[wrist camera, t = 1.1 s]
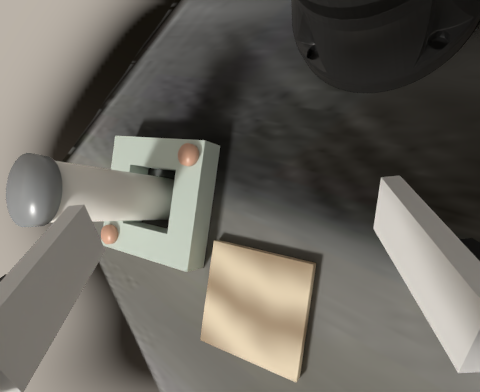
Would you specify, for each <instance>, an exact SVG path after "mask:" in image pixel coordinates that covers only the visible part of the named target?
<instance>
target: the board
mask: <svg viewBox="0 0 480 392" xmlns="http://www.w3.org/2000/svg"><path fill="white" fill-rule="evenodd" d="M315 269H316V263H314V262H310V261H305V260H301V259H297V258H293V257H289V256H284V255H280V254H276V253H272V252H268V251H263V250H259V249H255V248H251V247H246V246H242V245H238V244H234V243H230V242H225V241H221V240H215V241H214V243H213V251H212V258H211V265H210V272H209V280H208V287H207V294H206V301H205V309H204V316H203V323H202V330H201V338H200V340H201V341H204V342H206V343H208V344H210V345H213V346H215V347H217V348H219V349H222V350H224V351H226V352H228V353H231V354H233V355H235V356H237V357H240V358H242V359H244V360H247V361H249V362H251V363H253V364H256V365H258V366H260V367H262V368H265V369H267V370H269V371H271V372H274V373H276V374H278V375H280V376H283V377H285V378H287V379H289V380H292V381H294V382H296V383H297V381H298V380H299V378H300V373H301V366H302V359H303V352H304V345H305V338H306V331H307V324H308V317H309V310H310V303H311V296H312V289H313V283H314V276H315Z"/></svg>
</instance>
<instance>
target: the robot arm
mask: <svg viewBox="0 0 480 392" xmlns="http://www.w3.org/2000/svg"><path fill="white" fill-rule="evenodd" d="M291 3H292V27H293V33H294V38H295V41H296V44H297V47H298V49H299V51H300V53H301V55H302V56H303V58H304V60H305V61H306V63H307V64H308V66H309V67H310V69H311V70H312V71H313V72H314V73H315V74H316V75H317V76H318V77H319V78H320V79H322V80H323V81H324V82H326V83H328V84H329V85H331V86H333V87H336V88H338V89H342V90H345V91H350V92H357V93H376V92H383V91H388V90H392V89H396V88H399V87H402V86H405V85H408V84H410V83H413V82H415V81H417V80H419V79H421V78H423V77H425V76H426V75H428V74H430V73H431V72H433V71H434V70H436V69H437V68H439V67H440V66H441V65H443V64H444V63H445V62H446V61H448V60H449V59H450V58H451V57H452V56H453V55H454V54H455V53H456V52H457V51H458V50H459V49H460V48H461V47H462V46H463V44H464V43H465V42H466V41H467V39H468V38H469V37H470V35H471V34H472V32H473V31H474V29H475V28H476V26H477V24H478V22H479V21H480V0H291ZM374 230H375V232H376V234H377V236H378V237H379V239H380V241H381V242H382V244H383V246H384V247H385V249H386V251H387V253H388V254H389V256H390V258H391V259H392V261H393V263H394V264H395V266H396V268H397V270H398V271H399V273H400V275H401V276H402V278H403V280H404V281H405V283H406V285H407V287H408V288H409V290H410V292H411V293H412V295H413V297H414V298H415V300H416V302H417V304H418V305H419V307H420V309H421V310H422V312H423V314H424V315H425V317H426V319H427V321H428V322H429V324H430V326H431V327H432V329H433V331H434V332H435V334H436V336H437V338H438V339H439V341H440V343H441V344H442V346H443V348H444V349H445V351H446V353H447V355H448V356H449V358H450V360H451V361H452V363H453V365H454V366H455V368H456V370H457V372H458V373H470V372H480V243H479V242H478V241H476V240H474V239H473V238H468V239H459V238H458V237H457V236H456V235H455V234H454V233H453V232H452V231H451V230H450V229H449V228H448V227H447V226H446V225H445V223H444V222H443V221H442V220H441V219H440V218H439V217H438V216H437V215H436V214H435V213H434V212H433V211H432V210H431V209H430V207H429V206H428V205H427V204H426V203H425V202H424V201H423V200H422V199H421V198H420V197H419V196H418V195H417V194H416V192H415V191H414V190H413V189H412V188H411V187H410V186H409V185H408V184H407V183H406V182H405V181H404V180H403V179H402V177H401V176H390V177H381V181H380V188H379V195H378V202H377V208H376V215H375V222H374ZM104 252H105V248H104V246H103V244H102V242H101V240H100V237H99V235H98V233H97V231H96V229H95V226H94V224H93V222H92V220H91V218H90V216H89V213H88V211H87V209H86V207H85V205H73V206H68V207H67V208H66V209H65V210H64V211H63V212H62V214H61V215H60V216H59V217H58V218H57V219H56V220H55V221H54V222H53V224H52V225H51V226H50V227H49V228H48V229H47V230H46V232H45V233H44V234H43V235H42V236H41V237H40V238H39V239H38V240H37V241H36V243H35V244H34V245H33V246H32V247H31V248H30V249H29V251H27V253H26V254H25V255H24V256H23V257H22V258H21V259H20V260H19V262H18V263H17V264H16V265H15V266H14V267H13V268H12V269H11V270H10V272H9V273H8V274H6V275H4V276H3V277H1V278H0V392H24V390H25V388H26V386H27V385H28V383H29V381H30V380H31V378H32V376H33V374H34V373H35V371H36V369H37V368H38V366H39V364H40V362H41V361H42V359H43V357H44V355H45V354H46V352H47V350H48V348H49V347H50V345H51V343H52V342H53V340H54V338H55V336H56V335H57V333H58V331H59V329H60V328H61V326H62V324H63V323H64V321H65V319H66V317H67V316H68V314H69V312H70V310H71V309H72V307H73V305H74V303H75V302H76V300H77V298H78V297H79V295H80V293H81V292H82V290H83V288H84V286H85V285H86V283H87V281H88V279H89V278H90V276H91V274H92V272H93V271H94V269H95V267H96V266H97V264H98V262H99V260H100V259H101V257H102V255H103V253H104Z"/></svg>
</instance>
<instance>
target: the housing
mask: <svg viewBox="0 0 480 392" xmlns="http://www.w3.org/2000/svg"><path fill="white" fill-rule="evenodd" d="M219 152H220V146H219V145H217V144H214V143H211V142H208V141H206V140H190V139H169V138H149V137H129V136H115V142H114V150H113V158H112V165H111V169H112V170H118V171H125V172H131V173H138V174H144V175H148V170H149V168H155V169H163V170H172V171H176V173H175V180H174V187H173V195H172V202H171V210H170V217H169V224H168V229H167V228H163V227H159V226H155V225H150V224H146V223H142V220H130V221H104V226H103V228H102V231H101V238H102V241H101V242H102V244H103V246H106V247H110V248H113V249H116V250H119V251H122V252H125V253H129V254H132V255H135V256H138V257H141V258H144V259H148V260H151V261H154V262H157V263H160V264H163V265H166V266H170V267H173V268H176V269H179V270H182V271H185V272H189V271H193V270H197V269H200V268H204V262H205V254H206V247H207V240H208V232H209V225H210V218H211V211H212V203H213V196H214V189H215V182H216V174H217V167H218V160H219Z"/></svg>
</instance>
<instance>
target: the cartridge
mask: <svg viewBox="0 0 480 392" xmlns="http://www.w3.org/2000/svg"><path fill="white" fill-rule="evenodd" d="M173 187H174V180H173V179H170V178H164V177H158V176H151V175H144V174H138V173H131V172H125V171H118V170H112V169H105V168H98V167H92V166H85V165H79V164H72V163H65V162H59V161H54V160H53V159H52V158H50V157H48V156H43V155H38V154H31V153H26V154H23V155H21V156H20V157H19V158H18V159H17V160H16V161H15V163H14V164H13V166H12V168H11V170H10V173H9V176H8V181H7V187H6V201H7V208H8V211H9V214H10V216H11V218H12V220H13V221H14V222H15V223H16V224H17V225H18V226H21V227H34V226H35V227H37V226H45V225H46V224H48V223H49V222H54V221H55V220H56V219H57V218H58V217H59V216H60V215H61V214H62V212H63V211H64V210H65V209H66V208H67V207H68V206H73V205H85V207H86V209H87V211H88V213H89V216H90V218H91V220H92V221H130V220H168V219H169V217H170V210H171V202H172V195H173Z"/></svg>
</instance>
